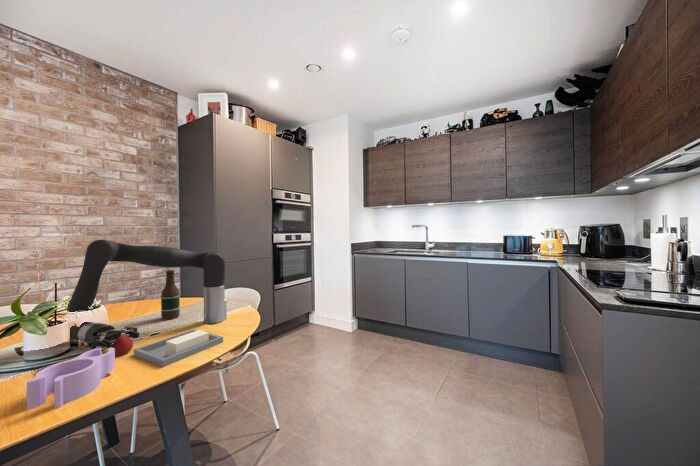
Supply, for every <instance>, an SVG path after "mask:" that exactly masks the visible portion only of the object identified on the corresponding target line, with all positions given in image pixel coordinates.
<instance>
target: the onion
mask: <svg viewBox="0 0 700 466" xmlns="http://www.w3.org/2000/svg"><path fill="white" fill-rule="evenodd" d="M133 347H134V341H133V338H131V337H128V336H125V333H121V336H120V337H119V338H117V339H116V340H115V341H113V342H112V347H111V348H114V349H115V356H116V355H117V356H123V355H127V354H128V353H129V352H130V351H131V350H132V349H133Z"/></svg>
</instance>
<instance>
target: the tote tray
mask: <svg viewBox="0 0 700 466" xmlns="http://www.w3.org/2000/svg"><path fill="white" fill-rule="evenodd" d="M197 330H198V329H196V328H195V329H190V330H188V331H184V332H181V333H179V334H176V335H172V336H170V337H166V338H162V339H161V340H158V341H155V342H152V343H149V344H146V345H142V346H139V347H137V348H135V349H134V348H132V349H133V356H134V357H136V358H139V359H142V360H144V361H147V362H150V363H152V364H155V365H157V366H159V367H163V368H164V367H168V366H169V365H172V364H174V363H177V362H179V361H181V360H184V359H186V358H188V357H191V356H194V355H196V354H198V353H200V352H202V351H205V350H208V349H210V348H212V347H215V346H217V345H219V344H222V343H224V336H223V335H222V336H221V335H217V334H213V333H211V332H208V333H209V341H208V342H205V343H203V344H200V345H198V346H195V347H193V348H190V349H188V350H185V351H182V352H180V353H177V354H175V355H172V356H170V357H169V356H166V341H168V340H171V339H174V338H177V337H180V336H183V335H186V334H188V333H191V332H194V331H197Z"/></svg>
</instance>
